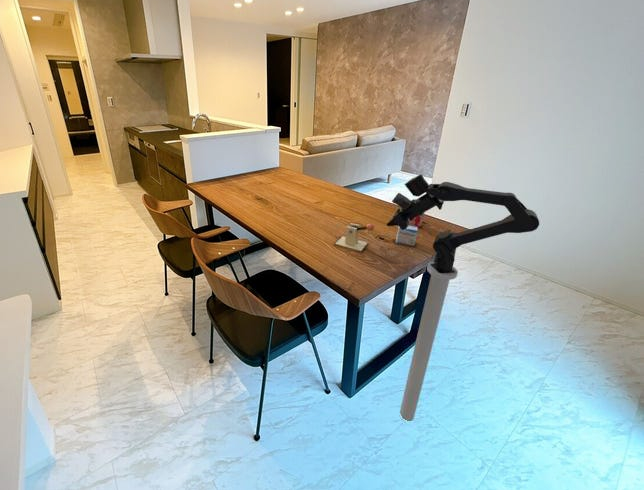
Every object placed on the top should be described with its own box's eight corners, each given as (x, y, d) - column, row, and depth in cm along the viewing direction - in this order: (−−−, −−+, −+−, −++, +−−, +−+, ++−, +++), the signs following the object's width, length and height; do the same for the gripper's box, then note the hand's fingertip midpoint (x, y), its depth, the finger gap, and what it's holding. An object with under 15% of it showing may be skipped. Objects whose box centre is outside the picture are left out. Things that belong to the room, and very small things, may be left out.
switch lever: (375, 228, 128) (374, 222, 128) (373, 231, 126) (371, 224, 125) (352, 231, 135) (350, 225, 134) (349, 234, 132) (347, 227, 132)
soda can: (420, 224, 156) (425, 203, 151) (421, 230, 150) (426, 208, 145) (405, 222, 158) (410, 201, 153) (406, 228, 152) (411, 207, 147)
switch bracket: (367, 244, 136) (369, 225, 132) (361, 253, 129) (363, 232, 125) (342, 238, 142) (344, 219, 138) (335, 245, 135) (336, 226, 132)
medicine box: (395, 244, 136) (398, 227, 132) (395, 239, 140) (399, 223, 136) (414, 247, 133) (418, 230, 130) (414, 242, 137) (417, 226, 133)
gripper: (412, 182, 121) (381, 203, 131) (402, 195, 107) (368, 216, 117) (429, 204, 120) (397, 223, 130) (422, 219, 106) (386, 239, 116)
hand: (387, 224), depth 123 cm, fingers closed
